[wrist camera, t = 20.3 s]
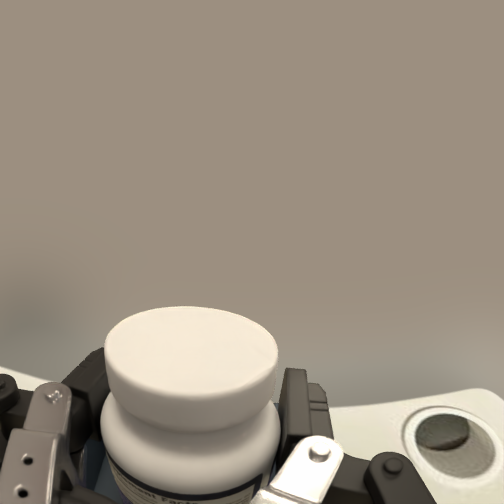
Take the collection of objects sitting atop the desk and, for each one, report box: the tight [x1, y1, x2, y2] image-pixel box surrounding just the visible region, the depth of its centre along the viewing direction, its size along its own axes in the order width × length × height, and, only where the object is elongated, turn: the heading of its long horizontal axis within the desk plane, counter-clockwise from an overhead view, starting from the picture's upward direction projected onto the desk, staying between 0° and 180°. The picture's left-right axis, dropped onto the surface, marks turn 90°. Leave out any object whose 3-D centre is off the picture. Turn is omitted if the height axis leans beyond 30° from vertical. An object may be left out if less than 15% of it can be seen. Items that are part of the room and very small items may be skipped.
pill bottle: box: [100, 306, 281, 504], centre depth 9 cm, size 6×6×10 cm
